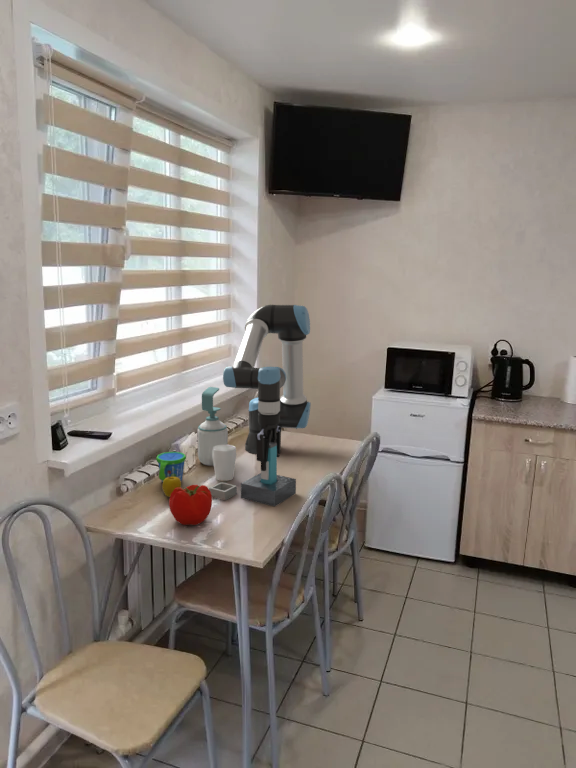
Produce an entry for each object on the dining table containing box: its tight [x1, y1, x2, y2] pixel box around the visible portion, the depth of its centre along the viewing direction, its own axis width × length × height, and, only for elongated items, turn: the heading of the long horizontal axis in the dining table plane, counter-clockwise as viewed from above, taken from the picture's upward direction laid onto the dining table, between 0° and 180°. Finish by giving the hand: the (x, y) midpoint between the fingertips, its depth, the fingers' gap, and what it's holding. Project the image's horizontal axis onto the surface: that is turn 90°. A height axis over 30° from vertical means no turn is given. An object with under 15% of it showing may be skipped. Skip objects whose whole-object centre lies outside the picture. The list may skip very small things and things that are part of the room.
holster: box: [208, 481, 238, 501], centre depth 214 cm, size 7×7×3 cm
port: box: [240, 472, 297, 507], centre depth 214 cm, size 14×14×6 cm
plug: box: [261, 442, 278, 485], centre depth 212 cm, size 4×4×17 cm
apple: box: [162, 476, 182, 498], centre depth 212 cm, size 6×6×8 cm
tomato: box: [168, 484, 213, 526], centre depth 192 cm, size 13×14×12 cm
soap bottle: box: [196, 386, 229, 467], centre depth 246 cm, size 12×12×31 cm
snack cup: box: [156, 451, 187, 483], centre depth 226 cm, size 16×10×10 cm
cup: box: [212, 444, 237, 482], centre depth 230 cm, size 9×9×12 cm
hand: (268, 476), depth 213 cm, fingers open, 4 cm apart
